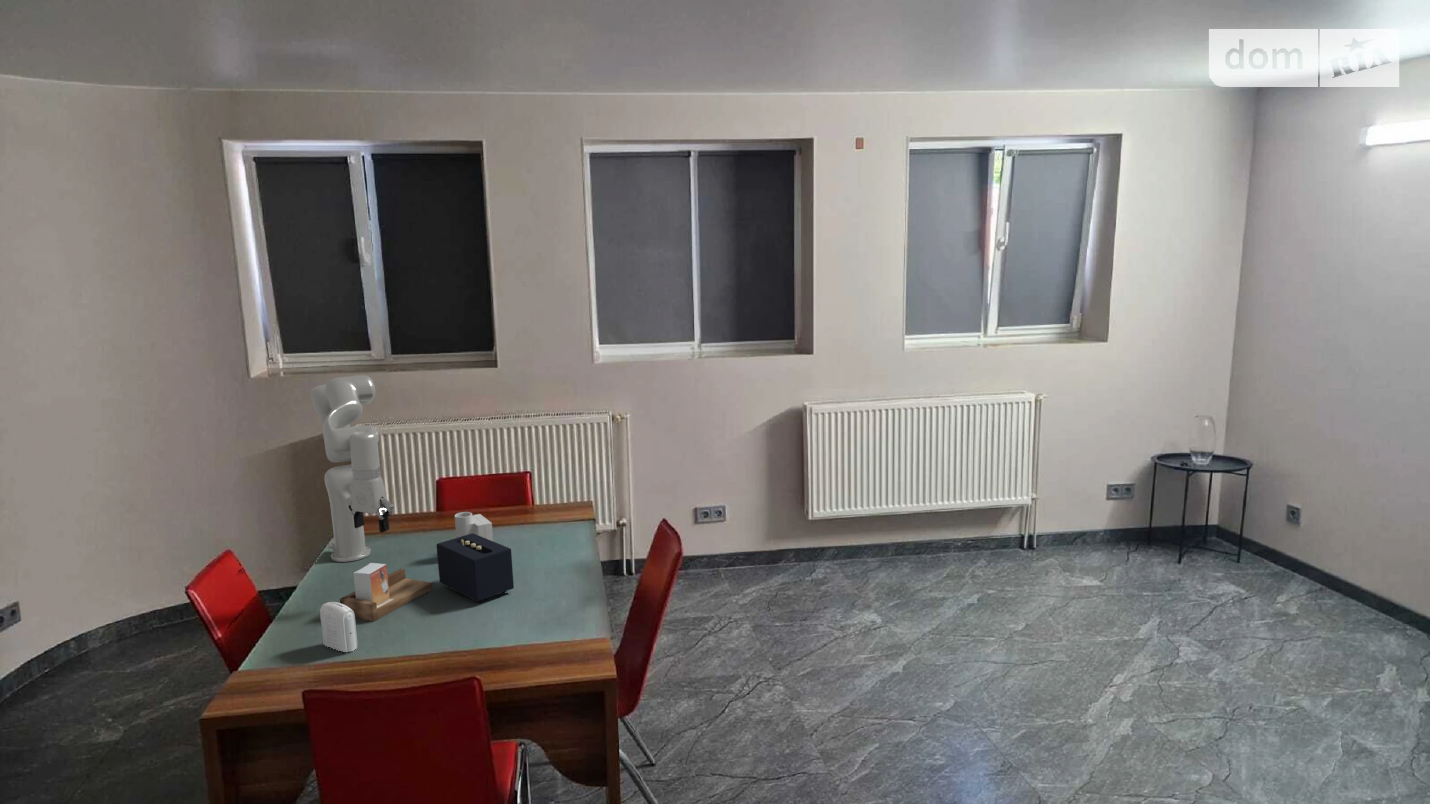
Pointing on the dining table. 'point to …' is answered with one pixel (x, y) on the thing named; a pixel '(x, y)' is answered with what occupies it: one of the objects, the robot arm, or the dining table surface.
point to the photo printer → (338, 627)
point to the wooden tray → (398, 596)
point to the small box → (372, 583)
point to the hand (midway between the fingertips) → (371, 528)
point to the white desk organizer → (473, 525)
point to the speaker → (475, 566)
